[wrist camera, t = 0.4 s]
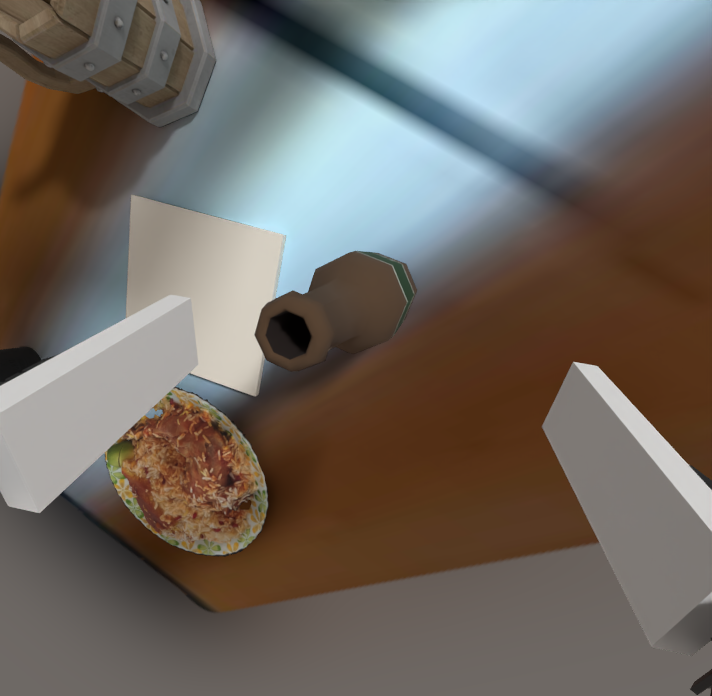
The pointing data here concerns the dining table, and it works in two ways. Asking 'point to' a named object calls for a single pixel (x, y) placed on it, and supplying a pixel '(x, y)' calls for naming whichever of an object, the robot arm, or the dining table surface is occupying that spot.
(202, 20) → the tankard
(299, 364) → the beer bottle
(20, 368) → the drinking cup
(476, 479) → the dining table surface
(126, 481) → the rice dish
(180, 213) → the square board
